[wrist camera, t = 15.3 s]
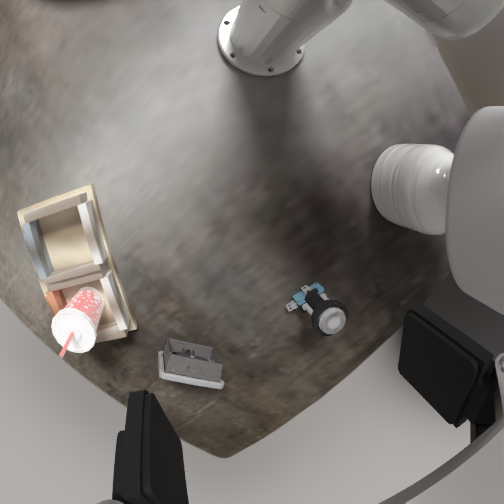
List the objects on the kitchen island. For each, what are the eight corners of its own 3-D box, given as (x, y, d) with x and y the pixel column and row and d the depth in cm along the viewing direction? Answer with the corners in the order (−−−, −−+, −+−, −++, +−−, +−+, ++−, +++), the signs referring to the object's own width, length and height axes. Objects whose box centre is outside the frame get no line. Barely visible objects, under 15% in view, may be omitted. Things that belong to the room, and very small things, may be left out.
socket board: (20, 210, 33) (7, 215, 29) (93, 183, 35) (83, 186, 32) (68, 339, 41) (61, 353, 37) (137, 325, 43) (134, 340, 39)
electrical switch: (157, 354, 45) (156, 387, 36) (164, 327, 44) (164, 357, 36) (211, 365, 48) (221, 398, 39) (220, 339, 47) (231, 370, 39)
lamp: (456, 194, 50) (634, 255, 11) (386, 275, 51) (576, 410, 11) (406, 90, 41) (634, 85, 2) (315, 169, 42) (649, 257, 3)
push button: (290, 317, 48) (314, 351, 39) (278, 292, 46) (302, 324, 37) (325, 297, 49) (355, 326, 39) (315, 271, 47) (345, 298, 38)
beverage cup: (103, 278, 38) (74, 330, 25) (114, 316, 40) (94, 376, 27) (66, 284, 37) (29, 334, 24) (78, 320, 39) (50, 378, 26)
